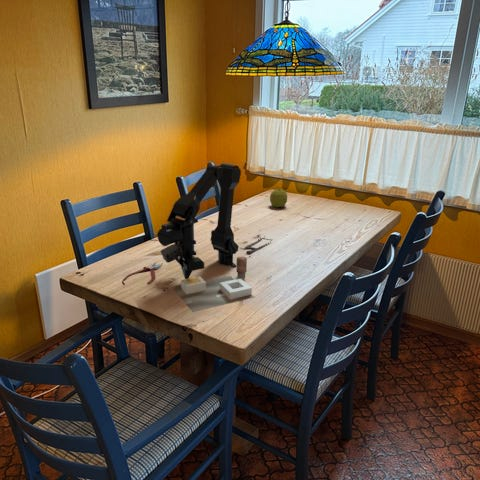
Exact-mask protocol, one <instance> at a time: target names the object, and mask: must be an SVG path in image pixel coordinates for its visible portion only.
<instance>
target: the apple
mask: <svg viewBox="0 0 480 480" xmlns="http://www.w3.org/2000/svg"><path fill="white" fill-rule="evenodd" d="M269 201H270V203H271V206H272V207H274V208H276V207H281V208H284V207H285V206H286V204H287V202H288V193H287V191H285V189H282V188H281V189H280V188H279V189H275V190H273V191H272V192H271V193H270V195H269Z"/></svg>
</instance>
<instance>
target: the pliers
mask: <svg viewBox="0 0 480 480" xmlns="http://www.w3.org/2000/svg"><path fill="white" fill-rule="evenodd" d="M163 264H164V262H161V263H157V261H155V262H153V263H152V264H151V265H150V266H149V267H147V266H144V267H142V269H140V270H137V271H135V272H132V273H129V274H128V275H126V276H125V277H124V278H123V279H122V280H121V284H122V286H125V285H126V284H125V281H126V280H128V278H129V277H131V276H135V275H137V274H138V275H139V274H143V273H144V274H145V273H148V272H149V273H150V272H151V279H150V280H149V281H147V286H148V285H151V284H153V282H154V281H156V278H157V277H156V272H155V271H158V270H160V268H161V267H162V265H163Z"/></svg>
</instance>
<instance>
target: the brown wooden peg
mask: <svg viewBox="0 0 480 480" xmlns="http://www.w3.org/2000/svg"><path fill="white" fill-rule="evenodd" d="M247 262H248V258H247V257H246V256H238V257H236V268H235V269H236V273H237V276H236V277H237V278H236V279H240V278H241V279H242V280H245V279H246V272H247Z"/></svg>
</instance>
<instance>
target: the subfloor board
mask: <svg viewBox="0 0 480 480" xmlns="http://www.w3.org/2000/svg"><path fill="white" fill-rule="evenodd" d="M230 280H235V278H233V277H232V276H231V275H227V276H222V277H217V278H213V279H208V280H204V281H205V282H206V290H204V291H199V292H195V293H190V294H186V293H185V292H184V291H183V290H182V288H181V285H179V286H175V287H174V286H173V287H172V288H173V290H174V291H175V293H176V294H177V295H178V296H179V297H180V298H181V299H182V302H184V303H185V305H186V306H187V307H188V308H189V310H190V311H191V312H192V313H194V312H199V311H202V310H206V309H210V308H215V307H219V306H224V305H228V304H233V303H236V302H240V301H244V300H249V299H253V298H255V296H254V295H253V294H252V295H247V296H243V297H239V298H235V299H229V298H228V297H227V296H226V295H225V294H224V293H223V292H222V291H221V290H220V283H221V282H225V281H230Z"/></svg>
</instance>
